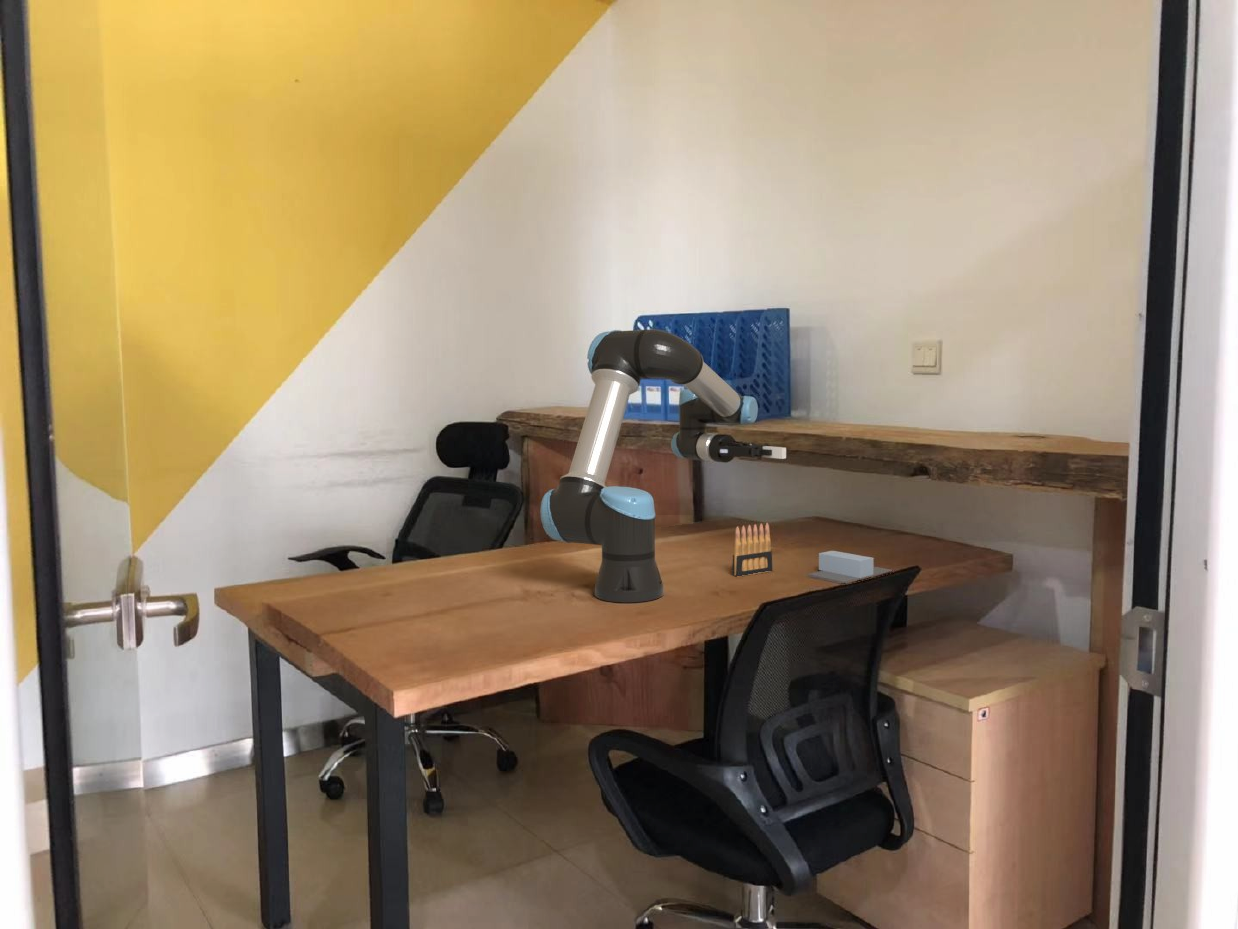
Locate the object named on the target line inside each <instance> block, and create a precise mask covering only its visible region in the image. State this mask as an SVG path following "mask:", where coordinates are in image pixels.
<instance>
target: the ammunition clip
mask: <svg viewBox="0 0 1238 929" xmlns="http://www.w3.org/2000/svg"><path fill="white" fill-rule="evenodd" d="M763 526H764V525H763V523H760V525H759V527H757V524H756V523H755V524H754V525H753V529H752V526H751V525H750V524H748V526H747V530H746V528H745V525H742V527H741V532H740V528H739V525H738V526H736V528H735V532H734V542H733V543H734V544H733V554H732V574H731V575H732V577H735V576H742V575H748V574H753V573H758V572H765V571H772V572H773V552H772V548H771V547H772V543H771V535H770V533H771V531H770V525H769V523H768V522H766V523H765V527H763ZM748 576H749V575H748ZM742 577H743V576H742Z"/></svg>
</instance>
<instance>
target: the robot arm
mask: <svg viewBox="0 0 1238 929" xmlns="http://www.w3.org/2000/svg"><path fill="white" fill-rule="evenodd" d="M586 359H587V360H588V362H587V368H588V371H589V373H590V374H591V376H590V377H591V380H592V382H593V383H594V387H593V391H592V394H591V398H590V401H589V404H588V408H587V411H586V414H585V418H584V421H583V424H582V428H581V431H580V434H579V438H578V441H577V443H576V444H577V445H576V448H575V451H574V454H573V457H572V460H571V461H572V462H571V464H570V467H569V470H568V473H566V474H564V475H563V476H561V477H560V478H559V481H558V484H557V488H553V489H550V490H548V491H547V492H546V493H544V495H543V497H542V499H541V501H540V502H541V503H540V510H539V513H540V520H541V524H542V527H543V530H544V531H545V533H546V535H548V536H549V537H550V539H552V540H555V541H559V542H564V543H568V544H571V543H575V544H576V543H577V544H587V545H595V546H596V545H597V546H601V563H600V567H599V570H598V573H597V574H598V575H597V578H596V582H595V584H594V596H595V598H597V599H599V600H602V601H605V602H606V601H607V602H615V603H641V602H643V603H644V602H648V601H649V602H650V601H654V600H656V599H657V600H658V599H659V598H662V597H663V596H664V582H663V580H662V577H661V573H660V571H659V567H658V565H657V561H656V540H655V539H656V532H655V531H656V527H655V526H656V525H655V522H656V521H655V518H656V511H655V503H654V502H655V501H654V498H653V496H652V494H651V493H650V492H648V491H646V490H643V489H639V488H635V487H630V486H606V484H605V483H606V479H607V476H608V473H609V469H610V465H611V462H612V459H613V455H614V451H615V448H616V445H617V441H618V438H619V434H620V432H621V431H620V430H621V426H622V424H623V419H624V417H625V413H626V409H627V406H628V402H629V398H630V397H631V396H630V395H633V394H635V393H636V392H638V390H639V386H640V383H641V381H642V380H643V379H645V380H647V379H648V380H650V379H662V380H663V379H664V380H669V381H671V382H672V383H674V384H676V385H680V386H683V387H685V389H681V390H680V392H679V398H678V413H679V414H678V419H679V422H678V424H679V427H678V428H679V429H678V432H675V433H674V434H673V436H672V440H671V442H670V447H671V448H670V449H671V451H672V454H674V455H675V456H676V457H677V458H681V459H685V460H695V461H706V462H708V464H712V462H717V463H729V462H731V461H732V460H734V458H736V457H737V458H742V457H743V458H744V457H745V458H755V457H757V460H759V461H760V460H761V461H762V460H763V458H769V459H770V458H771V459H780V460H784V459H787V447H782V446H772V445H770V443H764V444H759V443H754V442H751V443H750V442H743V441H740V440H739V441H736V439H735V438H734V437H733V436H732V435H731V434H726V433H725V434H724V433H713V432H707V426H708V424H711V425H712V424H717V425H739V426H742V425H752V424H753V423H754V422H755V421H756V420H757V419H758V418H757V417H758V411H759V405H758V402H757V399H756V398H755V397H753V396H748V395H744V396H743V395H740V394H739V393H737V391H735V390H734V388H732V387H731V386H730V385H729V384H728V383H727V382H726V381H725V380H724V379H723V378H721V377H720V376H719V375H718V374H717V373H716V371H714V370H713V369H712V368H711V367H710V366H709V365H707V363H706V362H704V358H703V355H702V353H701V352H700V351H699V350H698V349H697V348H696V347H694V346H693V345H692V344H691V343H689V342H688V341H687V340H685V339H683V338H682V337H680V336H677V335H676V334H673V333H672V332H669V331H666V330H663V329H662V330H661V329H658V328H657V329H656V328H653V329H652V328H649V329H636V330H635V329H634V330H620V329H615V330H613V329H612V330H610V331H602V332H601V333H598V335H596V336H595V337H594V339H593V340H592V341H591V343H590V344H589V348H588V351H587V357H586Z"/></svg>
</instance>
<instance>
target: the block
mask: <svg viewBox="0 0 1238 929" xmlns="http://www.w3.org/2000/svg"><path fill="white" fill-rule="evenodd" d="M874 560H875V558H874V557H871V556H866V555H865V556H864V555H860V554H853V553H849V552H844V551H843V552H842V551H838V550H837V551H836V550H828V551H824V552H819V553H818V570H819V571H827V572H832V573H837V574H842V575H847V576H852V577H857V578H862V577H866V576H870V575H873V566H874V565H875V564H874Z"/></svg>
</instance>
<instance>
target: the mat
mask: <svg viewBox="0 0 1238 929" xmlns="http://www.w3.org/2000/svg"><path fill="white" fill-rule="evenodd" d="M892 570H893V569H890V568H884V567H880V566H874V565H873V575H870V576H866V577H862V578H857V577H852V576H847V575H842V574H837V573H832V572H827V571H822V570H819V571H814V572H812V573H807V577H808V578H812V579H813V578H814V579H817V580H822V581H825V582H832V583H837V584H841V583H848V582H853V581H857V580H859V579H864V578H867V577H873V576H876V575H879V574H883V573H886V572H889V571H892Z"/></svg>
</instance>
